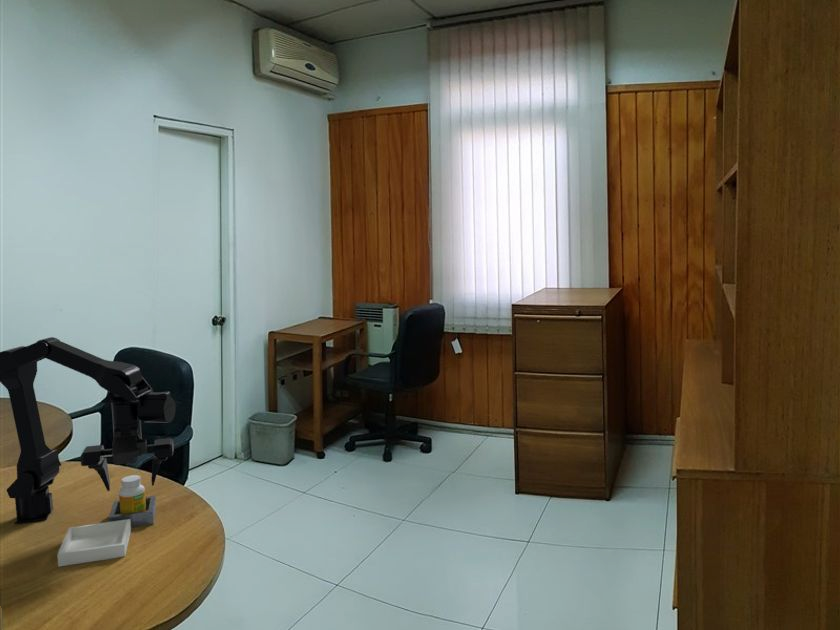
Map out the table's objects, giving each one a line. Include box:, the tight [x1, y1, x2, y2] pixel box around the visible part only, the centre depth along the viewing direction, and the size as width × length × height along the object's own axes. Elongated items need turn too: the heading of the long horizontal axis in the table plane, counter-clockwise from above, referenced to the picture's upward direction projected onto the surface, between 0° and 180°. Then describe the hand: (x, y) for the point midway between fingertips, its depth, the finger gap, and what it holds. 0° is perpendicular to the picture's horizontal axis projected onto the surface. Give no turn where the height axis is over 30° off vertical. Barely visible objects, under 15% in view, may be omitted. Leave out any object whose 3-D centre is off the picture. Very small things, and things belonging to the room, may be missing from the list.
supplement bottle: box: [118, 474, 146, 514], centre depth 145 cm, size 5×5×10 cm
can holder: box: [108, 495, 157, 528], centre depth 145 cm, size 9×9×3 cm
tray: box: [56, 519, 132, 568], centre depth 132 cm, size 12×12×3 cm
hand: (131, 487), depth 145 cm, fingers open, 9 cm apart
